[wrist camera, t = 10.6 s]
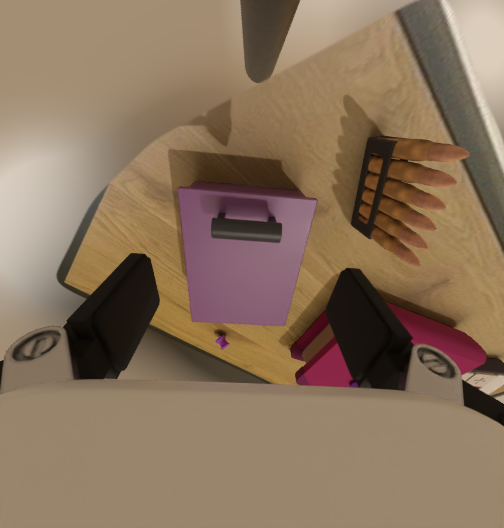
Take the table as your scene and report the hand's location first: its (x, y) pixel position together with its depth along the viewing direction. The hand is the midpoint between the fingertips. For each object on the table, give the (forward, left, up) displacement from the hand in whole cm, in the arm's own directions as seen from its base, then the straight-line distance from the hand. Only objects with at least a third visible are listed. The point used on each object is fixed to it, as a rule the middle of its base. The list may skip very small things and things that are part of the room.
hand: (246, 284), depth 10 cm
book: (+28, +28, -19) cm, 44 cm away
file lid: (+8, 0, -12) cm, 14 cm away
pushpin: (+29, -3, -19) cm, 35 cm away
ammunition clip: (-2, +15, -19) cm, 25 cm away
